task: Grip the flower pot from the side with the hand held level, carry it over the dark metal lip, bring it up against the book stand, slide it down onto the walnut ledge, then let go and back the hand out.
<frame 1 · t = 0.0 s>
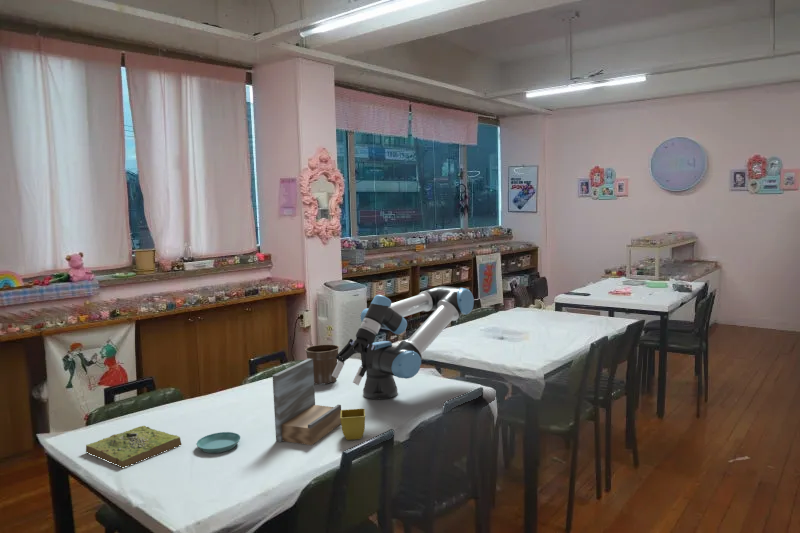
hand: (344, 380, 225), 15 cm above the table, tool tilted 35°, fingers open, 13 cm apart
saucer: (219, 447, 204), on the table
book stand: (310, 431, 215), on the table
miniature landscape model: (134, 451, 204), on the table
flower pot: (353, 437, 208), on the table
plant pot: (323, 381, 279), on the table
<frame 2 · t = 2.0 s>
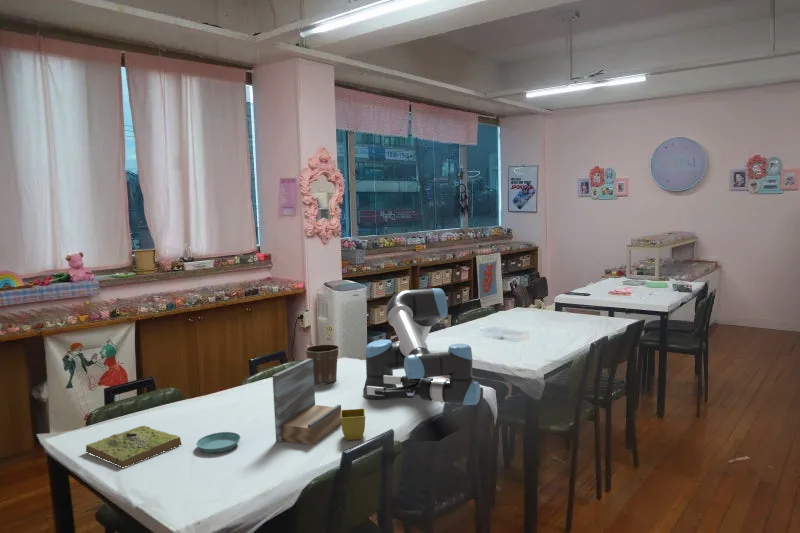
hand: (375, 384, 202), 20 cm above the table, tool horizontal, fingers open, 13 cm apart
nothing on the table moved.
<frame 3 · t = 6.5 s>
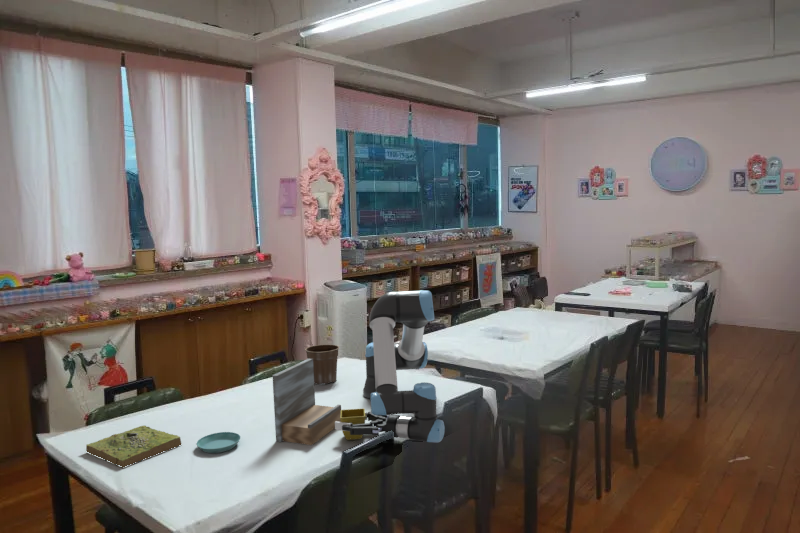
hand: (343, 419, 209), 6 cm above the table, tool horizontal, fingers closed on flower pot, 11 cm apart
flower pot: (353, 437, 208), on the table, touching gripper
everything else where it was.
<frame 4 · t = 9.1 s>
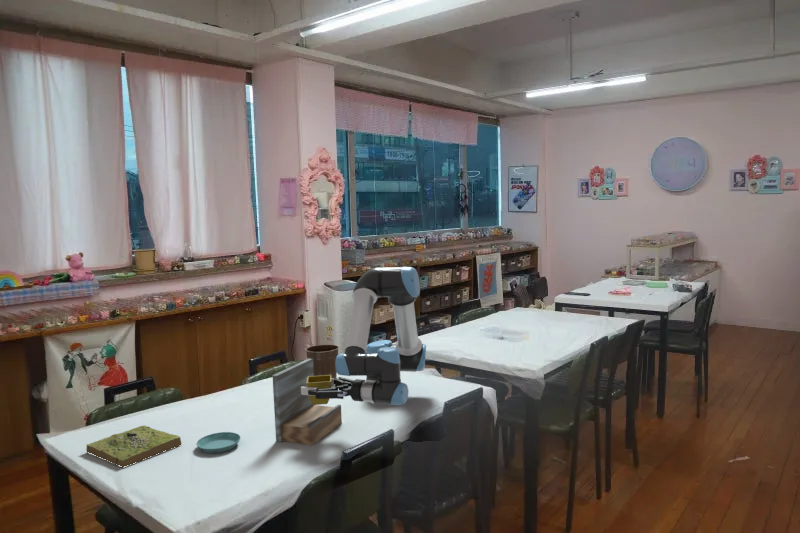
hand: (309, 385, 212), 18 cm above the table, tool horizontal, fingers closed on flower pot, 11 cm apart
flower pot: (320, 403, 211), point 11 cm above the table, touching gripper
everything else where it was.
when the fingers open (13 cm above the table, at t = 11.9 s): flower pot drops 1 cm, resting on book stand.
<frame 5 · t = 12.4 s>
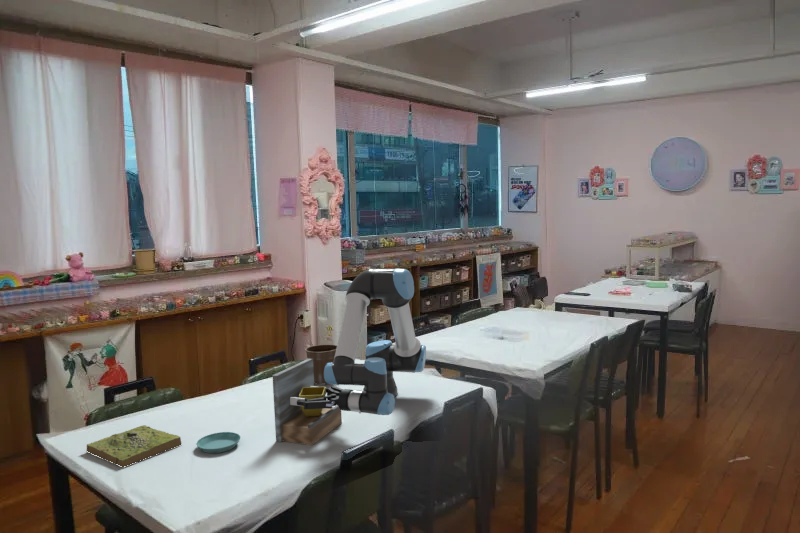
hand: (300, 395, 215), 13 cm above the table, tool horizontal, fingers open, 13 cm apart
flower pot: (313, 414, 215), point 6 cm above the table, touching book stand, gripper
everything else where it was.
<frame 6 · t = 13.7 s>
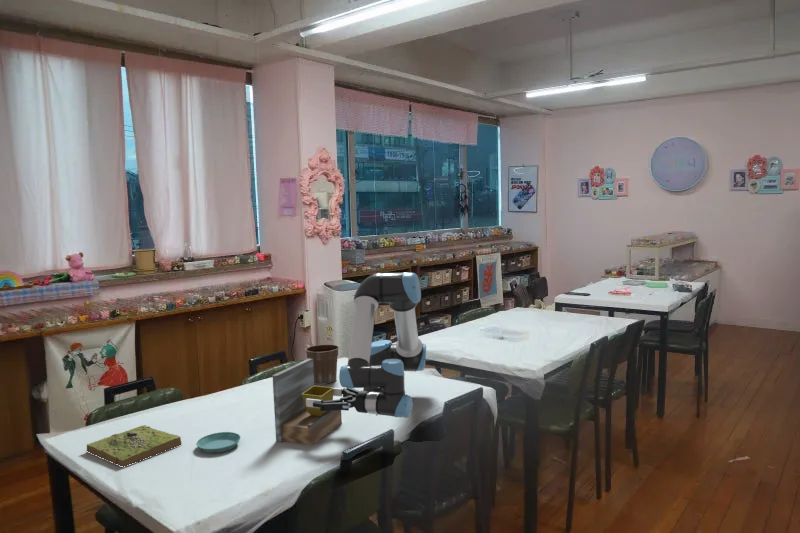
hand: (316, 396, 212), 14 cm above the table, tool horizontal, fingers open, 13 cm apart
flower pot: (319, 414, 215), point 6 cm above the table, touching book stand, gripper
everything else where it was.
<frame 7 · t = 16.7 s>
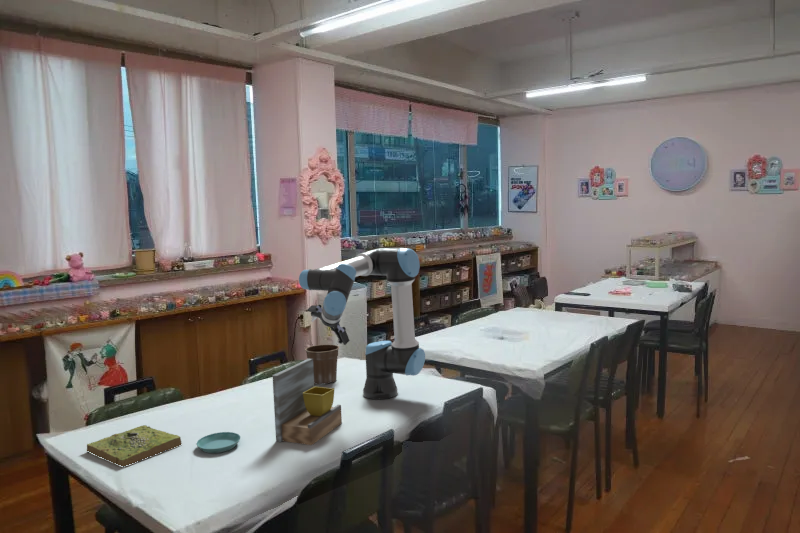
hand: (326, 330, 232), 33 cm above the table, tool tilted 65°, fingers open, 13 cm apart
flower pot: (319, 414, 215), point 6 cm above the table, touching book stand
everything else where it was.
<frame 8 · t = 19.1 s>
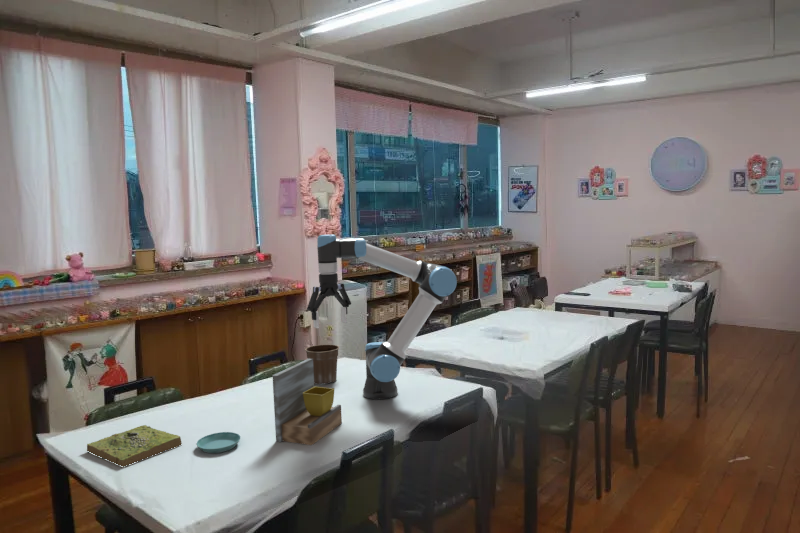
hand: (330, 325, 236), 35 cm above the table, tool pointing down, fingers open, 13 cm apart
nothing on the table moved.
at the end: flower pot 3.8 cm off-centre on the book stand, point 5.8 cm above the book stand's base; flower pot tilted 0°; the gripper is holding nothing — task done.
